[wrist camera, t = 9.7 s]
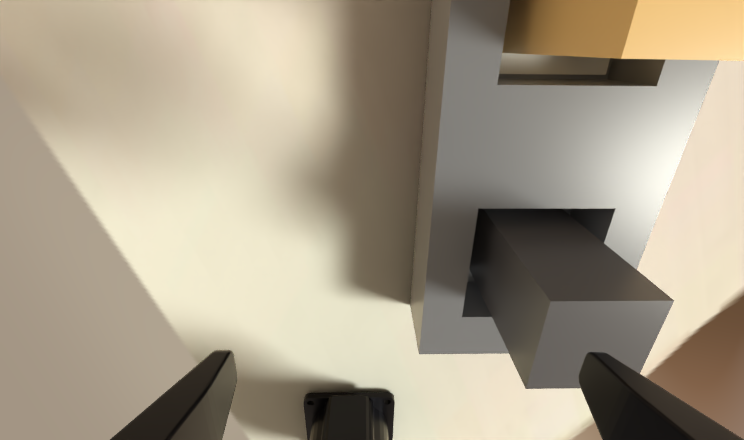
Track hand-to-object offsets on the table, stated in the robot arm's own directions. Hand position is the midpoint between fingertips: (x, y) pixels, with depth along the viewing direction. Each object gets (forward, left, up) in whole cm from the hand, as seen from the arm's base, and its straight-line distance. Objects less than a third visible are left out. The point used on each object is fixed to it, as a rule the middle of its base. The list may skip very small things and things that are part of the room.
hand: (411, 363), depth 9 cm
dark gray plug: (-2, -7, -10) cm, 13 cm away
